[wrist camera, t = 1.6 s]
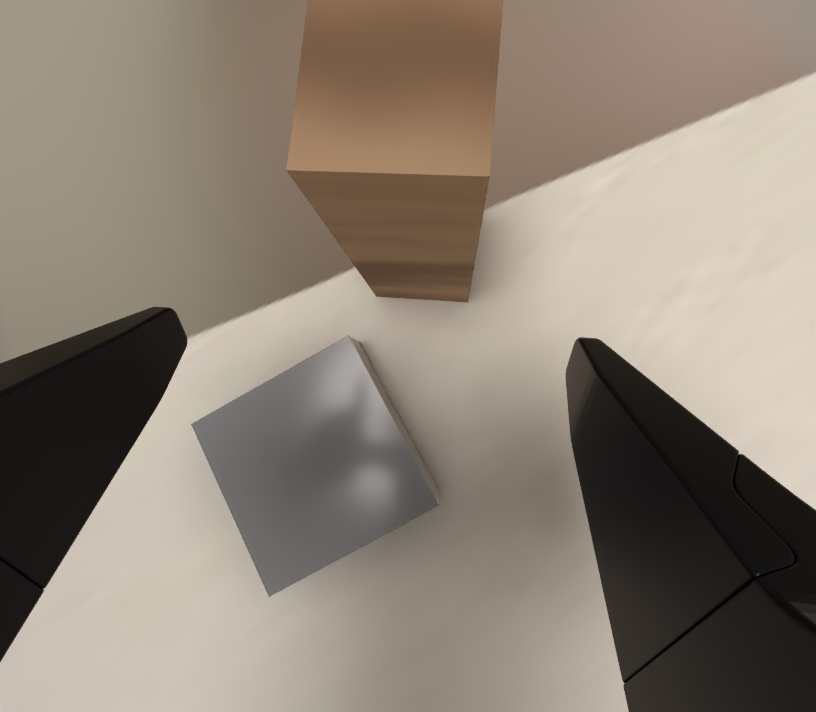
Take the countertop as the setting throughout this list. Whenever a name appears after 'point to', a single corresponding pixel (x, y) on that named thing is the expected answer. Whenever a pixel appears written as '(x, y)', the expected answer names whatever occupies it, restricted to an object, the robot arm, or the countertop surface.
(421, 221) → the walnut pillar
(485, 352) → the countertop surface
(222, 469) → the light grey plinth
